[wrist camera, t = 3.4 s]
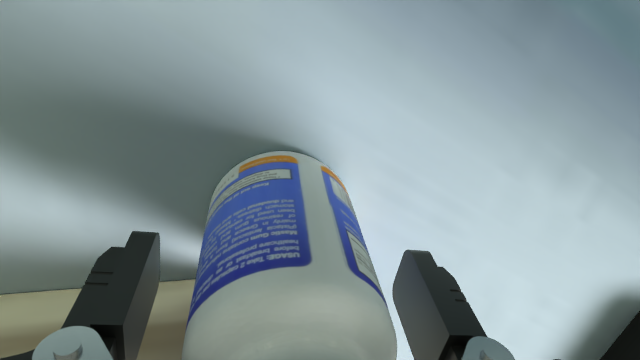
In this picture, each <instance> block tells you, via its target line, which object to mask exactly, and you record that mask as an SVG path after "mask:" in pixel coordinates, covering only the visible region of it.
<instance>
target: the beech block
mask: <svg viewBox="0 0 640 360" xmlns="http://www.w3.org/2000/svg"><path fill="white" fill-rule="evenodd" d="M195 280H196V279H192V280H180V281H167V282H159V286H158V290H157V294H156V297H155V300H154V304H153V307H152V310H151V313H150V317H149V320H148V323H147V326H146V330H145V333H144V336H143V339H142V343H141V346H140V349H139V352H138V356H137V359H136V360H182V350H183V344H184V338H185V332H186V326H187V321H188V316H189V311H190V306H191V301H192V296H193V291H194V285H195ZM81 289H82V288H80V289H67V290H54V291H42V292H29V293H17V294H4V295H0V358H4V357H9V356H13V355H18V354H21V353H25V352H28V351H31V350H33V349H36V347H37V346H38V344H39V343H40V342H41V341H42V340H43V339H44V338H46V337H47V336H48V335H50V334H52V333H53V332H55V331H58V330H60V329H61V327H62V326H63V324H64V322H65V320H66V318H67V316H68V314H69V312H70V310H71V308H72V307H73V305H74V303H75V301H76V299H77V297H78V295H79V293H80V291H81Z"/></svg>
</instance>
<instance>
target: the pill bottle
mask: <svg viewBox="0 0 640 360" xmlns="http://www.w3.org/2000/svg"><path fill="white" fill-rule="evenodd" d="M396 357H397V339H396V334H395V329H394V326H393V323H392V320H391V317H390V314H389V311H388V307H387V304H386V301H385V298H384V295H383V293H382V290H381V287H380V284H379V282H378V279H377V276H376V273H375V270H374V267H373V264H372V262H371V259H370V256H369V253H368V250H367V247H366V244H365V241H364V239H363V236H362V233H361V230H360V227H359V224H358V221H357V218H356V215H355V212H354V209H353V206H352V203H351V201H350V198H349V195H348V193H347V191H346V189H345V187H344V185H343V183H342V182H341V180H340V179H339V178H338V176H337V175H336V174H335V173H334V172H333V171H332V170H331V169H330V168H329V167H327V166H326V165H325V164H323V163H322V162H320V161H318V160H316V159H314V158H312V157H310V156H307V155H304V154H300V153H296V152H289V151H274V152H267V153H263V154H259V155H256V156H253V157H251V158H248V159H246V160H244V161H242V162H241V163H239V164H238V165H236V166H235V167H233V168H232V169H231V170H230V171H229V172H228V173H227V174H226V175H225V176H224V177H223V178H222V179H221V181H220V182H219V184H218V185H217V187H216V189H215V191H214V193H213V196H212V199H211V202H210V206H209V211H208V215H207V221H206V226H205V231H204V236H203V242H202V248H201V253H200V258H199V264H198V269H197V274H196V280H195V285H194V291H193V296H192V301H191V306H190V311H189V316H188V321H187V326H186V332H185V338H184V344H183V350H182V360H396Z"/></svg>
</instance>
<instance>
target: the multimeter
mask: <svg viewBox="0 0 640 360" xmlns="http://www.w3.org/2000/svg"><path fill="white" fill-rule="evenodd" d="M600 360H640V311H639V313H638V314H637V315H636V316H635V317H634V319H633V320H632V321H631V322H630V324H629V325H628V326H627V327H626V329H625V330H624V331H623V332H622V333H621V335H620V336H619V337H618V338H617V340H616V341H615V342H614V343H613V344H612V346H611V347H610V348H609V349H608V351H607V352H606V353H605V354H604V355H603V357H602V358H601V359H600Z"/></svg>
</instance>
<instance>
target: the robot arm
mask: <svg viewBox="0 0 640 360" xmlns="http://www.w3.org/2000/svg"><path fill="white" fill-rule="evenodd" d="M159 280H160V236H159V233H155V232H140V231H133V232H132V233H131V235H130V237H129V239H128V241H127V244H126V246H125V248H124V247H111V248H110V249H108V250H107V251H106V252H105V253H103V254H102V255H101V256H100V257H99V258H98V259H97V261H96V263H95V265H94V267H93V269H92V270H91V274H89V276H88V278H87V280H86V282H85V285H84V286H83V288H82V289H81V291H80V293H79V295H78V297H77V299H76V301H75V303H74V305H73V307H72V308H71V310H70V312H69V314H68V316H67V318H66V320H65V322H64V324H63V326H62V327H61V329H60V330H58V331H55V332H53V333H52V334H50V335H48V336H47V337H46V338H44V339H43V340H42V341H41V342H40V343H39V344H38V346H37V347H36V349H33V350H31V351H28V352H25V353H21V354H18V355H13V356H9V357H4V358H0V360H136V359H137V356H138V352H139V349H140V346H141V343H142V339H143V336H144V333H145V330H146V326H147V323H148V320H149V317H150V313H151V310H152V307H153V304H154V300H155V297H156V294H157V290H158V286H159ZM393 301H394V304H395V307H396V309H397V312H398V315H399V318H400V321H401V323H402V326H403V329H404V332H405V335H406V337H407V340H408V343H409V346H410V349H411V352H412V354H413V357H414V360H515V359H514V357H513V355H512V354H511V353H510V351H509V350H508V349H507V348H506V347H504V346H503V345H502V344H501V343H499V342H497V341H496V340H493V339H491V338H488V337H487V336H486V334H485V332H484V330H483V328H482V327H481V325H480V323H479V321H478V319H477V318H476V316H475V314H474V312H473V311H472V309H471V307H470V305H469V303H468V302H466V298H465V296H464V294H463V293H462V292H461V289H460V287H459V285H458V284H457V282H456V280H455V278H454V277H453V276H452V275H451V274H450V273H449V272H448V271H446V270H445V269H444V268H443V267H437V265H436V263H435V261H434V259H433V257H432V255H431V253H430V252H428V251H418V250H406V251H405V252H404V254H403V257H402V260H401V263H400V266H399V268H398V271H397V274H396V277H395V280H394V283H393ZM555 360H559V359H555Z"/></svg>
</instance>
